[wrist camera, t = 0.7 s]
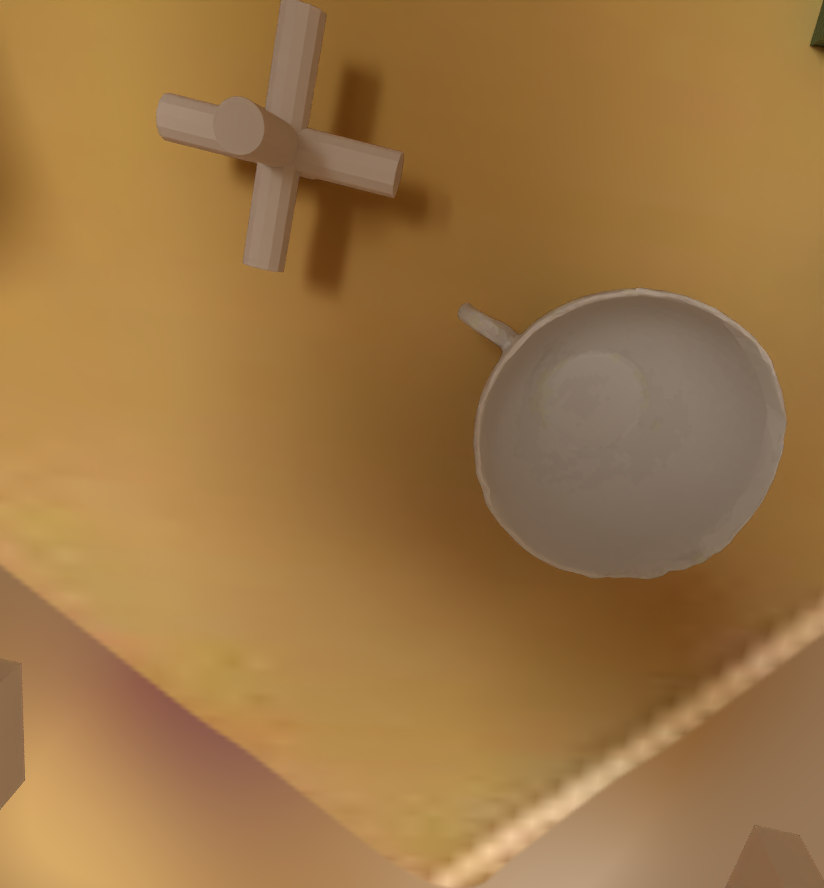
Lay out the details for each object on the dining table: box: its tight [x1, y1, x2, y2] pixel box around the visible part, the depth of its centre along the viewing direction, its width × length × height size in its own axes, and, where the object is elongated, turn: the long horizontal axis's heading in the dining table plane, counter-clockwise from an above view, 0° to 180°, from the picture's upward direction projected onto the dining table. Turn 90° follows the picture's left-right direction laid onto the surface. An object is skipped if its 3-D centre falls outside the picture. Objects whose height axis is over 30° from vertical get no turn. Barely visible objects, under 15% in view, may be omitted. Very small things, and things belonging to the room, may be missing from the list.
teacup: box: [458, 288, 787, 579], centre depth 29 cm, size 15×12×8 cm
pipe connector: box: [156, 0, 404, 272], centre depth 26 cm, size 10×10×10 cm
